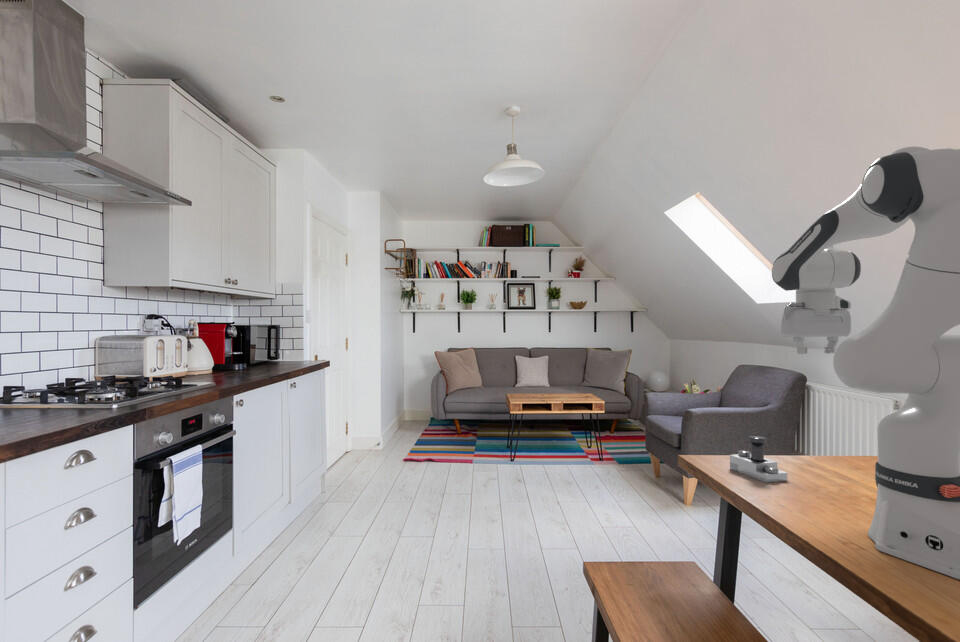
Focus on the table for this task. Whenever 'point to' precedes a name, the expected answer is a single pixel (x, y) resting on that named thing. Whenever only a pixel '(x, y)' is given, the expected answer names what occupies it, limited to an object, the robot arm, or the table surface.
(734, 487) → the table surface
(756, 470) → the slotted ball-knob block
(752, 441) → the pin
